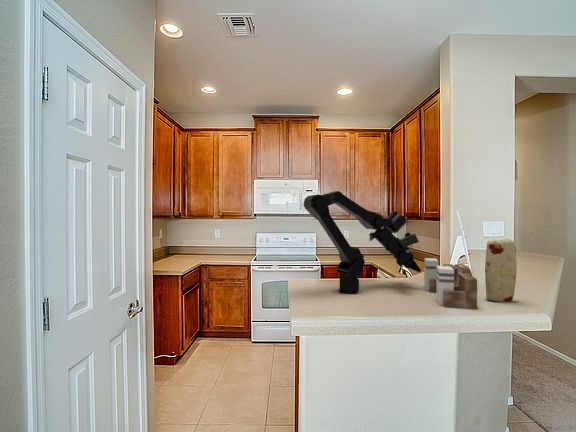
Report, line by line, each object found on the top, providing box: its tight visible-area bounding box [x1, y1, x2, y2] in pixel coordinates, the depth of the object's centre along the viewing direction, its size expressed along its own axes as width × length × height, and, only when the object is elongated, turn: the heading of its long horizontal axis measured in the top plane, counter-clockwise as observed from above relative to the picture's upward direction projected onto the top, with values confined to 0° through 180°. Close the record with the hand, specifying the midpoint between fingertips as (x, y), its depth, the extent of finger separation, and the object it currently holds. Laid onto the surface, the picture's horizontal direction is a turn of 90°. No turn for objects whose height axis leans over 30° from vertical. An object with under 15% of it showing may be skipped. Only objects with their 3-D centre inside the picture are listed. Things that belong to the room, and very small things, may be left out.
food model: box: [484, 238, 518, 303], centre depth 106 cm, size 10×7×20 cm
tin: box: [453, 263, 473, 276], centre depth 125 cm, size 15×3×8 cm, turn 168°
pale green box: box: [423, 257, 440, 292], centre depth 121 cm, size 4×6×11 cm
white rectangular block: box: [436, 265, 454, 306], centre depth 103 cm, size 4×6×11 cm
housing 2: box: [442, 273, 478, 310], centre depth 102 cm, size 9×10×9 cm
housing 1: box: [429, 263, 458, 294], centre depth 120 cm, size 9×10×9 cm
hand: (420, 271), depth 122 cm, fingers closed
